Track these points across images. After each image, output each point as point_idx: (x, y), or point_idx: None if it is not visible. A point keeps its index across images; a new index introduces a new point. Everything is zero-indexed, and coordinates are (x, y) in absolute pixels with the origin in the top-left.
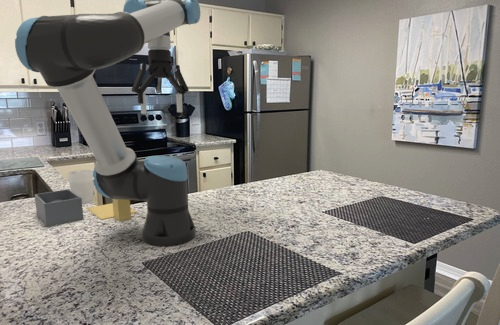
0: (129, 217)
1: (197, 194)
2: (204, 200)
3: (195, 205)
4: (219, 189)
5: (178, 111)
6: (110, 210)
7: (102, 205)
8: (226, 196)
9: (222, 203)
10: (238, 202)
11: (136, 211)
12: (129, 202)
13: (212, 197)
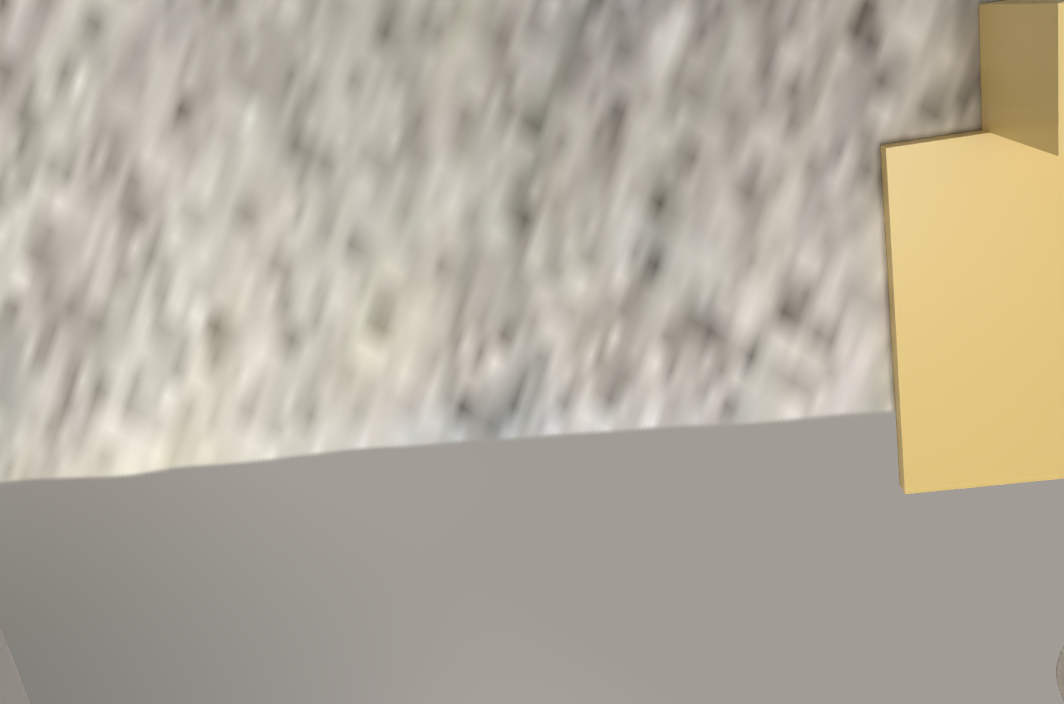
0: (1003, 1)
1: (267, 418)
2: (269, 224)
3: (382, 126)
4: (57, 460)
5: (8, 701)
6: (1057, 295)
7: (1060, 466)
8: (66, 236)
9: (160, 59)
10: (27, 12)
11: (888, 151)
12: (1044, 2)
13: (182, 271)
